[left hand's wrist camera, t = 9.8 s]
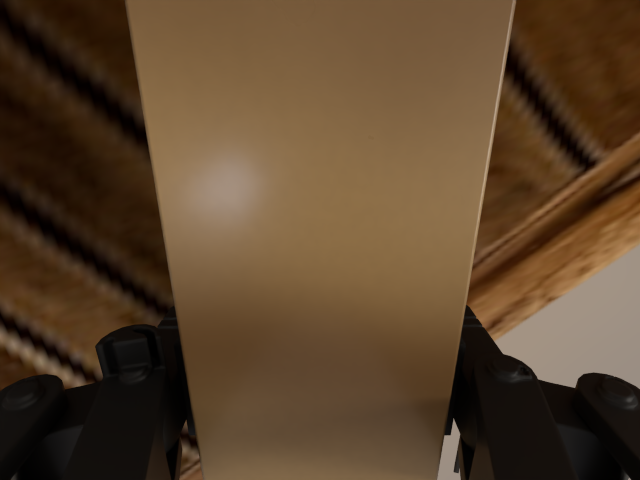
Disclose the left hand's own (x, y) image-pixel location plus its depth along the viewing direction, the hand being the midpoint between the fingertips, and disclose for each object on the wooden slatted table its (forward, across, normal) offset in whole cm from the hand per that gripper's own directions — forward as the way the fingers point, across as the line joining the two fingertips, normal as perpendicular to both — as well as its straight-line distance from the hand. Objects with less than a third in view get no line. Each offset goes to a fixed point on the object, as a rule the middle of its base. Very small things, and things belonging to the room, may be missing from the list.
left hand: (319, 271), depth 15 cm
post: (+1, 0, -20) cm, 20 cm away
